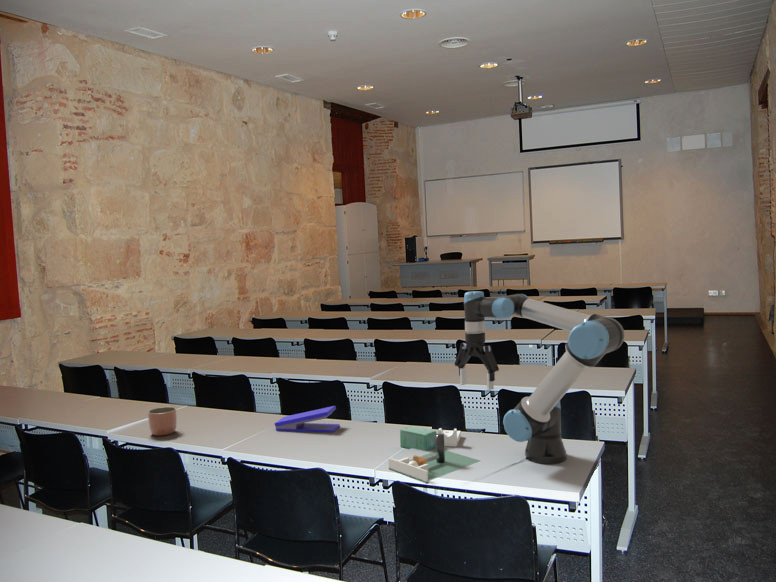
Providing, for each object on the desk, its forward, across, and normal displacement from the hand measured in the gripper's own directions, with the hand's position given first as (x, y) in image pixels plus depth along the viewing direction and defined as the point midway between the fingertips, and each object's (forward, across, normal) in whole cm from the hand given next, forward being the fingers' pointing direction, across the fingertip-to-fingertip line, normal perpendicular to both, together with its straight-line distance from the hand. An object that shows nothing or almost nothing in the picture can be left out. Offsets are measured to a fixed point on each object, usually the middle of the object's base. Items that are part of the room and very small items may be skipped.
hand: (476, 387), depth 240 cm
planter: (+27, +127, +74) cm, 149 cm away
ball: (+24, +4, +31) cm, 39 cm away
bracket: (+27, +19, -4) cm, 33 cm away
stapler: (+27, +82, +24) cm, 90 cm away
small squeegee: (+26, +4, +22) cm, 34 cm away
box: (+27, +24, +9) cm, 37 cm away
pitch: (+27, +4, +20) cm, 34 cm away
